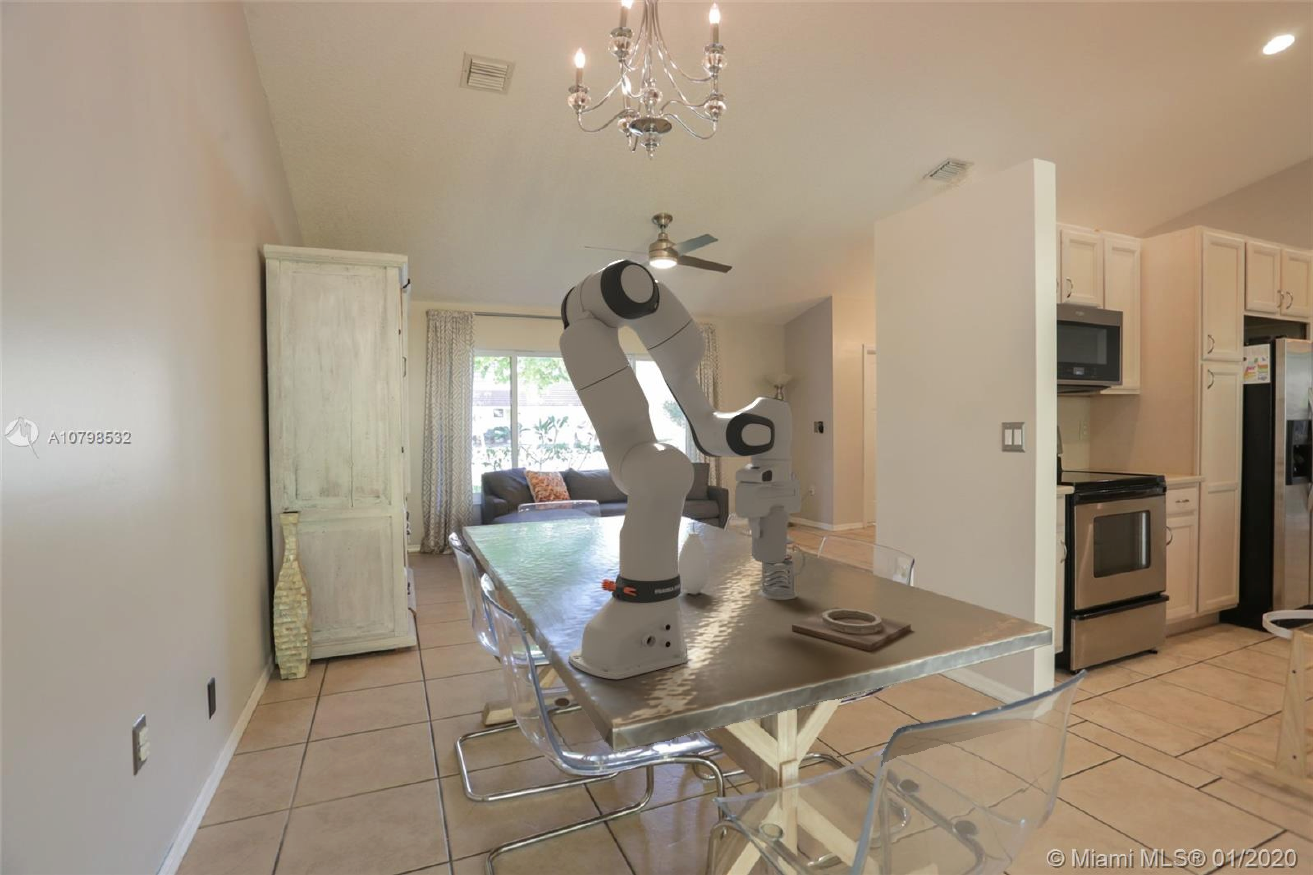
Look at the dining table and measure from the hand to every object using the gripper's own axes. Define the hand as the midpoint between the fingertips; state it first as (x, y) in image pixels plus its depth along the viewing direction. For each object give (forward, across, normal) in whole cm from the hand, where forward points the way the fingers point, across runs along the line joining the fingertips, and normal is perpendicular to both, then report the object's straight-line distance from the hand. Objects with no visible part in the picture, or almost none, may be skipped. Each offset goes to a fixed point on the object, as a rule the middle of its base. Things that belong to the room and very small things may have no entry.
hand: (769, 536), depth 135 cm
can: (+6, 0, 0) cm, 6 cm away
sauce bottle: (+19, -5, -26) cm, 32 cm away
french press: (+18, -20, -10) cm, 28 cm away
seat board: (+18, -7, +16) cm, 25 cm away
